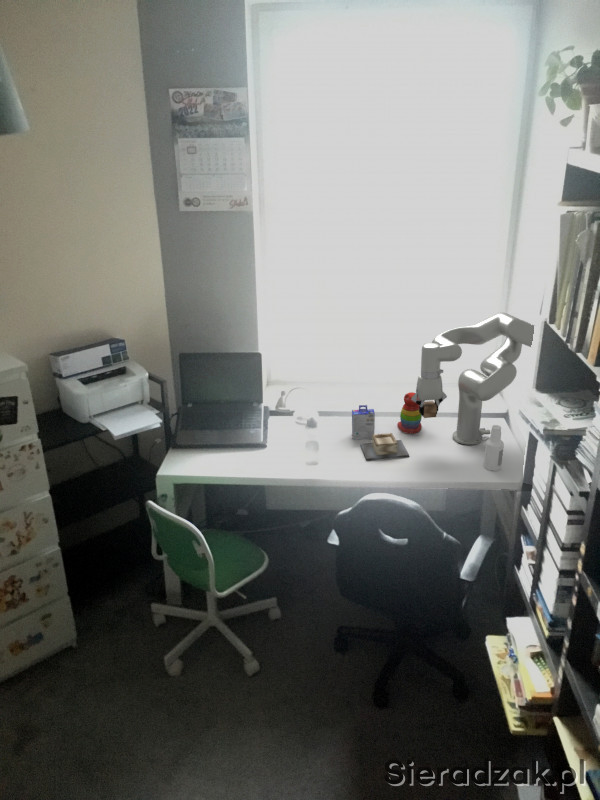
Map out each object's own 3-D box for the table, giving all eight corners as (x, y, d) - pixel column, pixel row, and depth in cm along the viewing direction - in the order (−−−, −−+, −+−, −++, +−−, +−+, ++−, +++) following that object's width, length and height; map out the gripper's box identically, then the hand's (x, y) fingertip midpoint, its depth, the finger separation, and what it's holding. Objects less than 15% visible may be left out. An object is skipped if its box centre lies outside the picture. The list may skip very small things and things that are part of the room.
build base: (400, 441, 277) (401, 429, 275) (409, 456, 266) (409, 444, 263) (360, 445, 276) (360, 433, 273) (366, 460, 264) (366, 448, 261)
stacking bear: (420, 423, 293) (421, 387, 285) (424, 433, 283) (426, 397, 276) (396, 424, 293) (397, 388, 285) (400, 434, 283) (401, 398, 276)
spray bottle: (504, 469, 254) (509, 429, 247) (489, 472, 253) (493, 432, 245) (495, 461, 260) (499, 421, 253) (480, 463, 259) (484, 424, 251)
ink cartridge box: (373, 433, 286) (374, 403, 279) (375, 439, 281) (375, 409, 274) (351, 433, 286) (351, 404, 280) (352, 439, 281) (352, 410, 275)
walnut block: (432, 411, 268) (433, 400, 265) (436, 416, 263) (436, 406, 261) (420, 412, 267) (421, 402, 265) (424, 418, 263) (424, 407, 261)
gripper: (447, 368, 261) (445, 407, 269) (407, 371, 260) (406, 411, 268) (453, 375, 254) (451, 415, 262) (412, 378, 253) (410, 419, 261)
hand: (428, 413), depth 265 cm, fingers closed on walnut block, 5 cm apart
